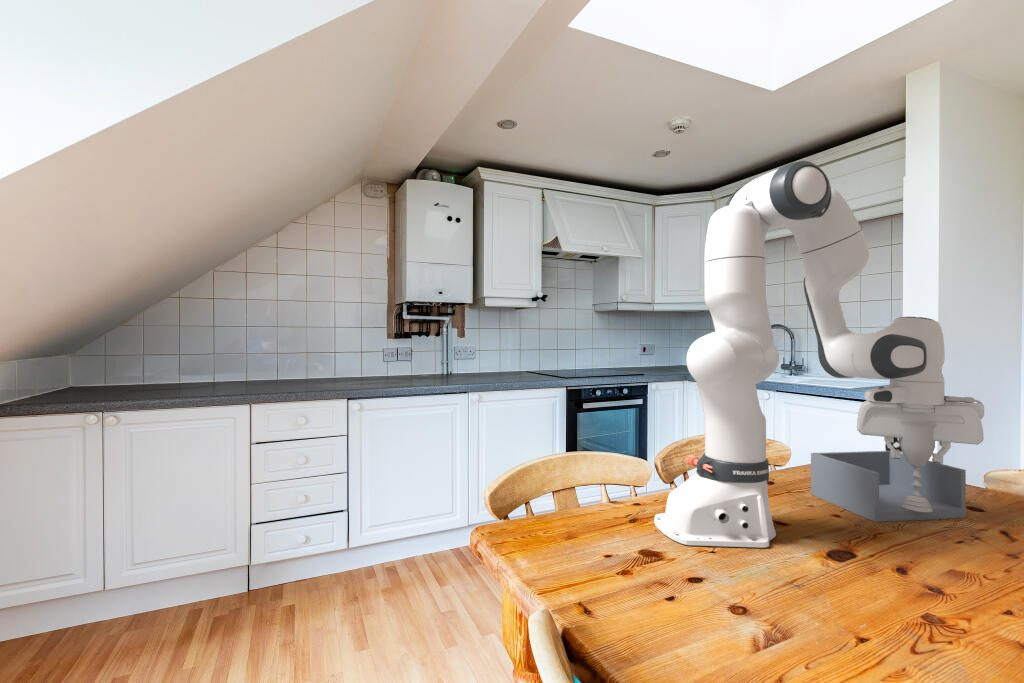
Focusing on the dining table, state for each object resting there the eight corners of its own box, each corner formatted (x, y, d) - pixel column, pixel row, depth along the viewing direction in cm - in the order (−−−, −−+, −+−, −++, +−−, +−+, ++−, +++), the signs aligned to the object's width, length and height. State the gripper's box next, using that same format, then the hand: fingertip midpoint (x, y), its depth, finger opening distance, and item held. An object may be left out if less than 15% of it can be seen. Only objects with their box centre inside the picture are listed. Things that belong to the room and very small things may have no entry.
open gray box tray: (874, 521, 99) (874, 473, 99) (810, 494, 117) (810, 453, 117) (965, 517, 101) (965, 469, 101) (889, 491, 119) (889, 450, 119)
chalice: (942, 516, 96) (941, 426, 96) (898, 510, 100) (898, 423, 100) (934, 506, 102) (934, 421, 102) (894, 500, 106) (893, 418, 106)
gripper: (979, 396, 98) (979, 464, 98) (856, 390, 109) (856, 451, 109) (988, 399, 93) (988, 471, 93) (858, 393, 104) (858, 457, 104)
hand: (916, 460), depth 101 cm, fingers closed on chalice, 5 cm apart
